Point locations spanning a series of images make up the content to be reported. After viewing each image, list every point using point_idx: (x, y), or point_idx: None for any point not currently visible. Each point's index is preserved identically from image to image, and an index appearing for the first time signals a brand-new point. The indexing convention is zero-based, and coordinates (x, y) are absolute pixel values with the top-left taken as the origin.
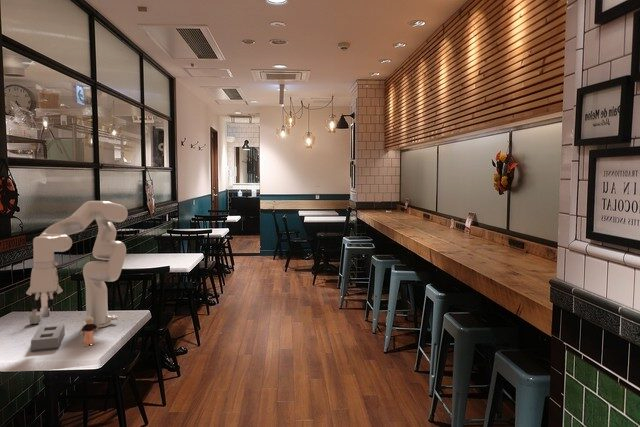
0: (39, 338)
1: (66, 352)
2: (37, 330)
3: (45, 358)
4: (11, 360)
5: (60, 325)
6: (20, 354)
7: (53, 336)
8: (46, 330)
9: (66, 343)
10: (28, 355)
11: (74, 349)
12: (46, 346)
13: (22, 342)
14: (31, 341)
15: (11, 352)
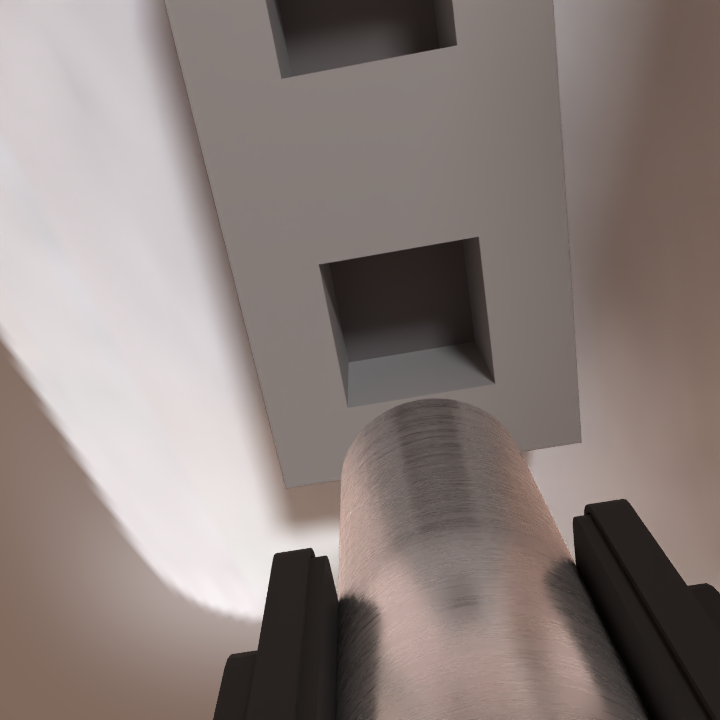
0: None
1: (637, 476)
2: (180, 47)
3: None
4: (212, 592)
5: None
6: (218, 466)
7: (512, 383)
8: (326, 72)
9: (589, 193)
10: (307, 501)
11: (703, 407)
12: None
13: (31, 58)
14: (291, 478)
15: (99, 399)
